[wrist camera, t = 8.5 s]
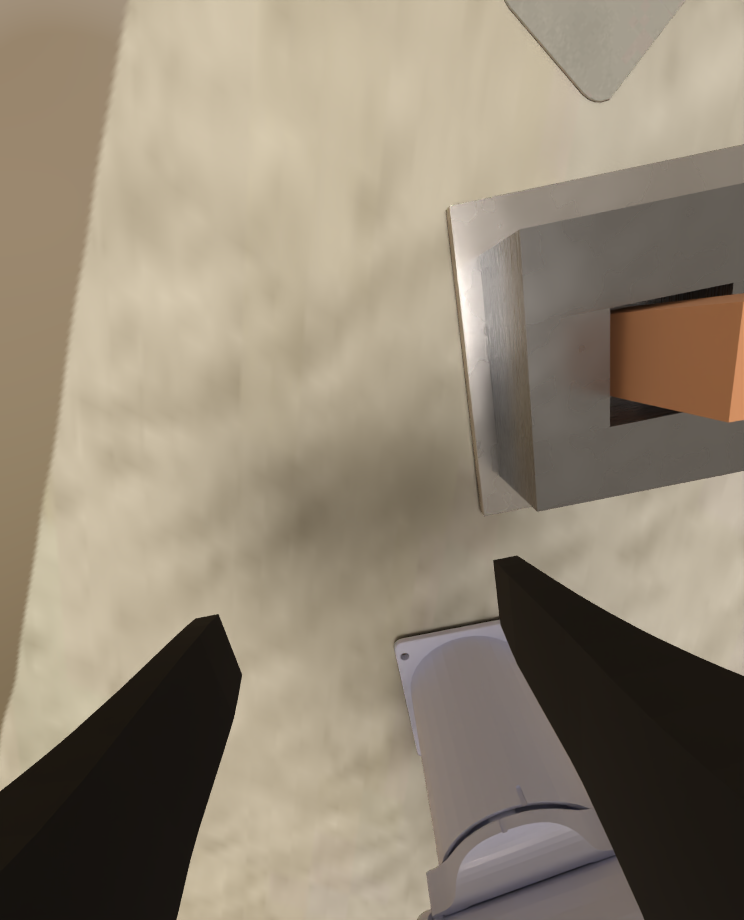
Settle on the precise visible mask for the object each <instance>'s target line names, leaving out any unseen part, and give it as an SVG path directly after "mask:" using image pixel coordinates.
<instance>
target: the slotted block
mask: <svg viewBox="0 0 744 920" xmlns="http://www.w3.org/2000/svg"><path fill="white" fill-rule="evenodd" d="M446 215H447V224H448V233H449V241H450V250H451V259H452V267H453V276H454V285H455V293H456V302H457V311H458V319H459V328H460V337H461V345H462V354H463V363H464V372H465V380H466V389H467V398H468V406H469V415H470V424H471V432H472V441H473V450H474V458H475V467H476V476H477V484H478V493H479V502H480V510H481V512H482V514H483V515H484V516H488V515H493V514H498V513H503V512H508V511H513V510H518V509H523V508H528V507H533V508H534V509H535V510H536V511H537V512H538V511H543V510H548V509H553V508H558V507H563V506H568V505H573V504H578V503H583V502H588V501H593V500H599V499H604V498H609V497H614V496H619V495H624V494H629V493H634V492H639V491H644V490H649V489H654V488H659V487H664V486H669V485H675V484H680V483H685V482H690V481H695V480H700V479H705V478H710V477H715V476H720V475H725V474H730V473H735V472H740V471H744V420H740V421H735V422H729V423H728V422H724V421H719V420H715V419H710V418H706V417H701V416H697V415H693V414H688V413H684V412H679V411H675V410H670V409H666V408H661V407H657V406H652V405H648V404H643V403H639V402H635V401H630V400H626V399H621V398H617V397H612V396H610V310H614V309H619V308H625V307H630V306H637V305H646V304H655V303H663V302H672V301H681V300H689V299H698V298H707V297H715V296H724V295H733V294H741V293H744V144H743V145H738V146H734V147H729V148H724V149H719V150H714V151H710V152H705V153H700V154H695V155H690V156H686V157H681V158H676V159H671V160H667V161H662V162H657V163H652V164H647V165H643V166H638V167H633V168H628V169H623V170H619V171H614V172H609V173H604V174H600V175H595V176H590V177H585V178H580V179H576V180H571V181H566V182H561V183H556V184H552V185H547V186H542V187H537V188H532V189H528V190H523V191H518V192H513V193H509V194H504V195H499V196H494V197H489V198H485V199H480V200H475V201H470V202H465V203H461V204H456V205H451V206H449V207H448V209H447V210H446Z"/></svg>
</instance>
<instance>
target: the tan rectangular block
mask: <svg viewBox="0 0 744 920" xmlns="http://www.w3.org/2000/svg"><path fill="white" fill-rule="evenodd" d="M610 396H612V397H617V398H621V399H626V400H630V401H635V402H639V403H643V404H648V405H652V406H657V407H661V408H666V409H670V410H675V411H679V412H684V413H688V414H693V415H697V416H701V417H706V418H710V419H715V420H719V421H724V422H728V423H729V422H735V421H740V420H744V293H741V294H733V295H724V296H715V297H707V298H698V299H689V300H681V301H672V302H663V303H655V304H646V305H637V306H630V307H625V308H619V309H614V310H610Z"/></svg>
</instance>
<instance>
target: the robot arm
mask: <svg viewBox="0 0 744 920" xmlns="http://www.w3.org/2000/svg"><path fill="white" fill-rule="evenodd" d="M493 562H494V571H495V580H496V589H497V599H498V608H499V617H500V620H495V621H489V622H484V623H479V624H474V625H469V626H464V627H459V628H453V629H448V630H443V631H438V632H433V633H428V634H422V635H417V636H412V637H407V638H402V639H399V640H397V641H396V642H395V644H394V649H395V654H396V659H397V663H398V668H399V672H400V677H401V681H402V686H403V690H404V695H405V699H406V704H407V708H408V713H409V717H410V722H411V726H412V731H413V735H414V740H415V744H416V749H417V753H418V755H419V756H421V758H422V764H423V770H424V776H425V782H426V788H427V794H428V800H429V806H430V812H431V818H432V825H433V831H434V837H435V843H436V849H437V855H438V861H439V866H437V867H436V868H434V869H431V870H429V871H428V872H427V873H426V875H427V883H428V890H429V897H430V905H431V909H430V910H427V911H425V912H423V913H422V914H421V915H419V917H418V919H417V920H744V676H742V675H740V674H737V673H735V672H732V671H730V670H727V669H725V668H723V667H720V666H718V665H716V664H713V663H711V662H709V661H706V660H704V659H702V658H699V657H697V656H695V655H693V654H691V653H689V652H686V651H684V650H682V649H680V648H678V647H676V646H674V645H671V644H669V643H667V642H665V641H663V640H661V639H659V638H657V637H655V636H653V635H651V634H649V633H647V632H645V631H643V630H641V629H639V628H637V627H635V626H633V625H631V624H629V623H627V622H626V621H624V620H622V619H620V618H618V617H616V616H614V615H613V614H611V613H609V612H607V611H605V610H604V609H602V608H600V607H598V606H597V605H595V604H593V603H591V602H590V601H588V600H586V599H585V598H583V597H581V596H580V595H578V594H576V593H575V592H573V591H571V590H570V589H568V588H567V587H565V586H563V585H562V584H560V583H559V582H557V581H556V580H554V579H552V578H551V577H549V576H548V575H546V574H545V573H543V572H542V571H540V570H539V569H537V568H535V567H534V566H532V565H531V564H529V563H528V562H526V561H525V560H523V559H522V558H520V557H518V556H513V557H507V558H502V559H497V560H493ZM403 653H407V654H405V655H402V654H403ZM241 678H242V673H241V671H240V668H239V666H238V663H237V660H236V658H235V655H234V653H233V650H232V648H231V645H230V643H229V640H228V637H227V635H226V632H225V630H224V627H223V625H222V622H221V620H220V617H219V614H217V615H212V616H207V617H201V618H196V619H195V620H193V621H192V622H191V623H190V624H189V625H187V626H186V627H185V628H184V629H183V630H182V631H181V632H180V633H179V634H177V635H176V636H175V637H174V638H173V639H172V640H171V641H170V642H169V643H168V644H167V645H166V646H165V647H164V648H163V649H162V650H161V651H160V652H159V653H158V654H156V655H155V656H154V657H153V658H152V659H151V660H150V661H149V662H148V663H147V664H146V665H145V666H144V667H143V668H142V669H141V670H140V671H139V672H138V673H137V674H136V675H135V676H133V677H132V678H131V679H130V680H129V681H128V682H127V683H126V684H125V685H124V686H123V687H122V688H121V689H120V690H119V691H118V692H117V693H115V694H114V695H113V696H112V697H111V698H110V699H109V700H108V701H107V702H105V703H104V704H103V705H102V706H101V707H100V708H99V709H98V710H97V711H95V712H94V713H93V714H92V715H91V716H90V717H89V718H88V719H87V720H85V721H84V722H83V723H82V724H81V725H80V726H79V727H78V728H77V729H76V730H74V731H73V732H72V733H71V734H70V735H69V736H68V737H66V738H65V739H64V740H63V741H62V742H61V743H59V744H58V745H57V746H56V747H55V748H53V749H52V750H51V751H50V752H49V753H47V754H46V755H45V756H44V757H43V758H41V759H40V760H39V761H38V762H36V763H35V764H34V765H33V766H31V767H30V768H29V769H28V770H26V771H25V772H24V773H23V774H22V775H20V776H19V777H18V778H17V779H15V780H14V781H13V782H12V783H10V784H9V785H8V786H6V787H5V788H4V789H3V790H1V791H0V920H176V919H177V915H178V911H179V907H180V902H181V898H182V894H183V889H184V885H185V881H186V877H187V872H188V868H189V864H190V860H191V856H192V852H193V849H194V845H195V842H196V838H197V834H198V831H199V828H200V824H201V821H202V818H203V815H204V812H205V809H206V806H207V802H208V799H209V796H210V793H211V790H212V787H213V784H214V780H215V777H216V774H217V771H218V768H219V765H220V762H221V758H222V755H223V752H224V749H225V746H226V742H227V739H228V736H229V733H230V729H231V726H232V723H233V719H234V715H235V710H236V705H237V700H238V695H239V689H240V684H241Z"/></svg>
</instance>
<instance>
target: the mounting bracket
mask: <svg viewBox="0 0 744 920" xmlns="http://www.w3.org/2000/svg"><path fill="white" fill-rule="evenodd" d="M505 2H506V4H507V6H508V7H509V9H510V10H511V11H512V12H513V13H514V15H515V16H516V17H517V18H518V19H519V20H520V22H521V23H522V24H523V25H524V26H525V27H526V29H527V30H528V31H529V32H530V33H531V34H532V36H533V37H534V38H535V39H536V40H537V42H538V43H539V44H540V45H541V46H542V47H543V49H544V50H545V51H546V52H547V53H548V54H549V56H550V57H551V58H552V59H553V60H554V61H555V63H556V64H557V65H558V66H559V67H560V68H561V70H562V71H563V72H564V73H565V74H566V75H567V77H568V78H569V79H570V80H571V81H572V82H573V84H574V85H575V86H576V87H577V88H578V89H579V91H580V92H581V93H582V94H583V95H584V96H585V97H586V98H588V99H589V100H592V101H595V102H603V101H606V100H609V99H610V98H611V97H612V96H613V94H614V93H615V92H616V90H617V89H618V88H619V87H620V85H621V84H622V83H623V81H624V80H625V79H626V77H627V76H628V75H629V73H630V72H631V71H632V70H633V68H634V67H635V66H636V64H637V63H638V62H639V60H640V59H641V58H642V56H643V55H644V54H645V53H646V51H647V50H648V49H649V47H650V46H651V45H652V43H653V42H654V41H655V40H656V38H657V37H658V36H659V34H660V33H661V32H662V30H663V29H664V28H665V26H666V25H667V24H668V23H669V21H670V20H671V19H672V17H673V16H674V15H675V13H676V12H677V11H678V10H679V8H680V7H681V6H682V4H683V3H684V2H685V0H505Z"/></svg>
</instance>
